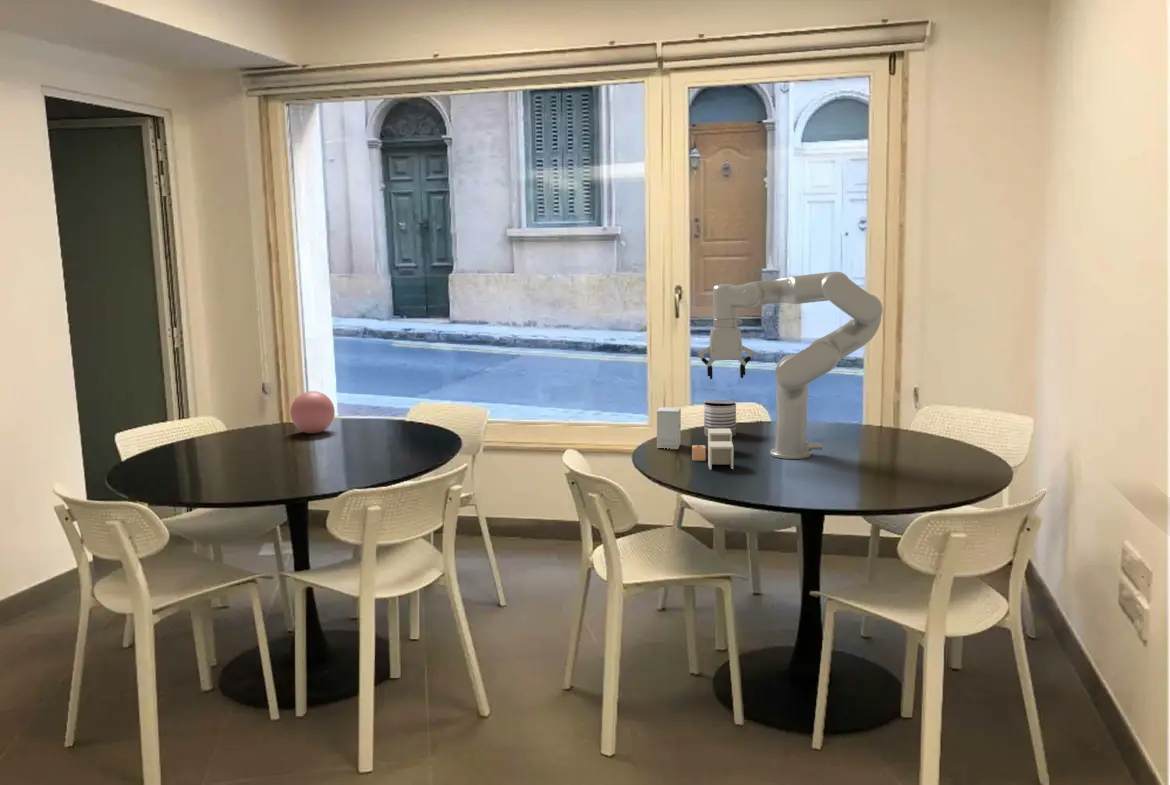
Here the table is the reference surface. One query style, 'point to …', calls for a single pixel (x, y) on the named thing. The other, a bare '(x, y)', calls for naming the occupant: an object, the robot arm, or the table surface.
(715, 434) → the large plain cream block
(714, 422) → the can
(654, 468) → the table surface
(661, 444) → the supplement box
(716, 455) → the plain off-white cube
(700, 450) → the letter cube
